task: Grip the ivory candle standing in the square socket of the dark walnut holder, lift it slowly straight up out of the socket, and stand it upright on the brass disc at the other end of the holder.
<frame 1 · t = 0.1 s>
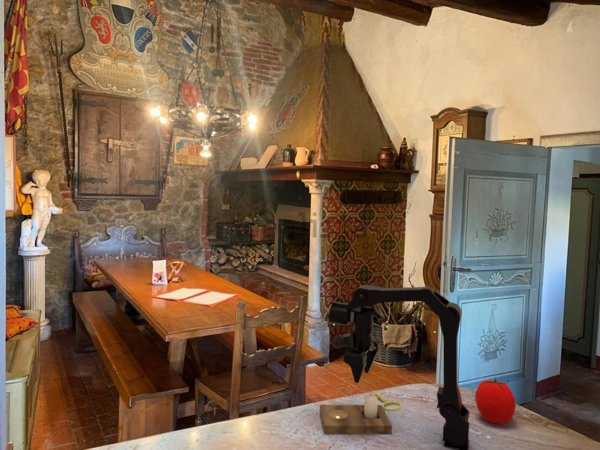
hand: (361, 377, 144), 14 cm above the countertop, tool pointing down, fingers open, 9 cm apart
walnut holder: (354, 422, 146), on the countertop
key: (385, 405, 160), on the countertop
brass disc: (338, 414, 145), resting on walnut holder
ivory candle: (370, 422, 146), resting in walnut holder
tomato: (494, 421, 149), on the countertop
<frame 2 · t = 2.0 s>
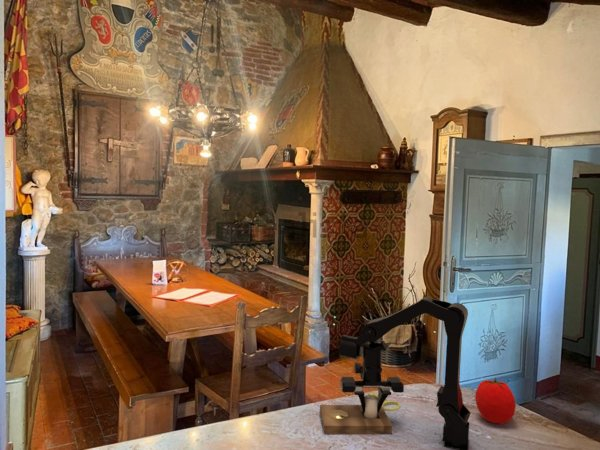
hand: (370, 411, 146), 4 cm above the countertop, tool pointing down, fingers closed on ivory candle, 4 cm apart
ivory candle: (370, 422, 146), resting in walnut holder, touching gripper
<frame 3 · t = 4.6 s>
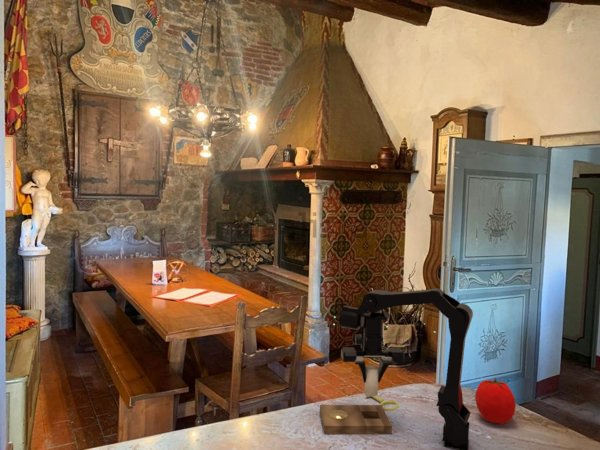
hand: (371, 382, 145), 13 cm above the countertop, tool pointing down, fingers closed on ivory candle, 4 cm apart
ivory candle: (371, 393, 145), point 9 cm above the countertop, touching gripper
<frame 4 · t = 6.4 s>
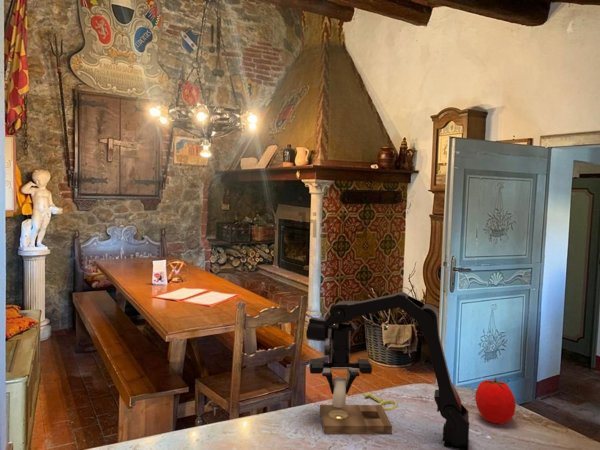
hand: (339, 393, 145), 9 cm above the countertop, tool pointing down, fingers closed on ivory candle, 4 cm apart
ivory candle: (339, 404, 145), point 6 cm above the countertop, touching gripper
when the fingers open (7 cm above the countertop, at t = 7.5 s): ivory candle stays where it is, resting on brass disc.
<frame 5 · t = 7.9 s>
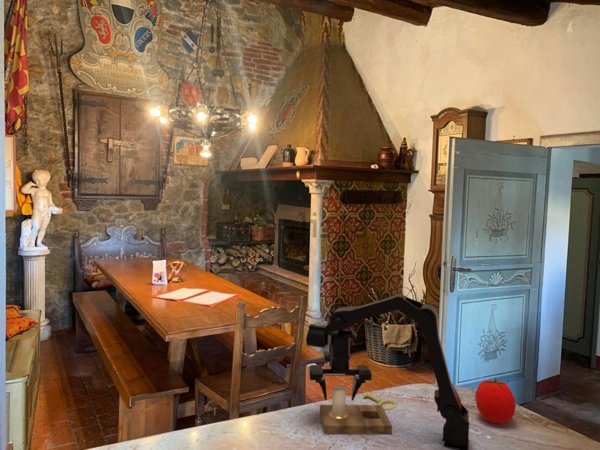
hand: (339, 399, 145), 7 cm above the countertop, tool pointing down, fingers open, 8 cm apart
ivory candle: (338, 414, 145), point 3 cm above the countertop, touching brass disc
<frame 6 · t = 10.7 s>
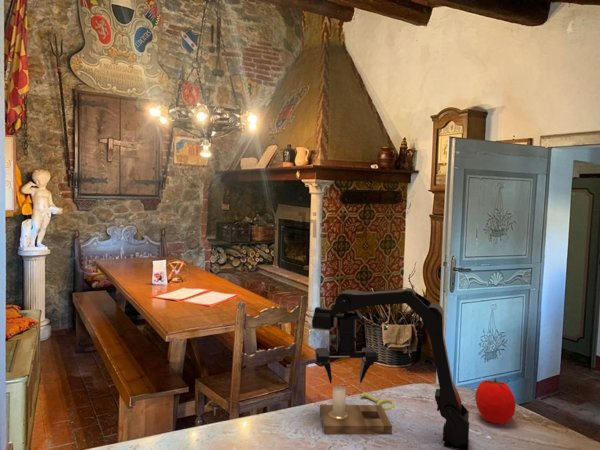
hand: (345, 382, 145), 13 cm above the countertop, tool pointing down, fingers open, 9 cm apart
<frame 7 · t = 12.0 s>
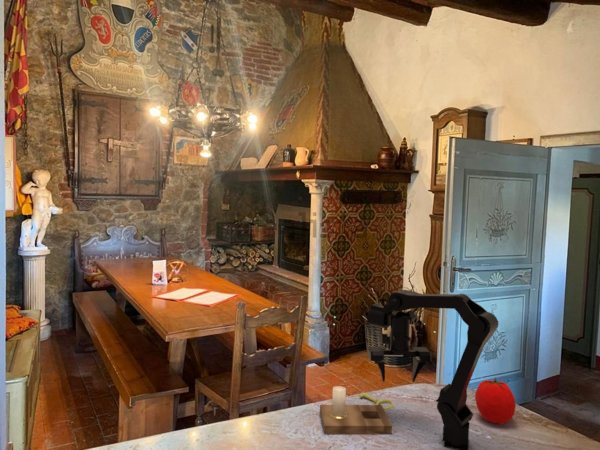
hand: (398, 381, 146), 13 cm above the countertop, tool pointing down, fingers open, 9 cm apart
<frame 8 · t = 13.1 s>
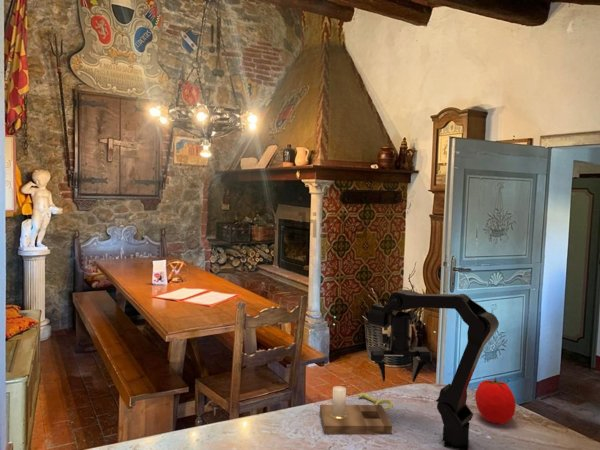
hand: (398, 381, 146), 13 cm above the countertop, tool pointing down, fingers open, 9 cm apart
at the end: ivory candle 0.1 cm off-centre on the brass disc, point 0.2 cm above the brass disc's base; ivory candle tilted 0°; the gripper is holding nothing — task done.
